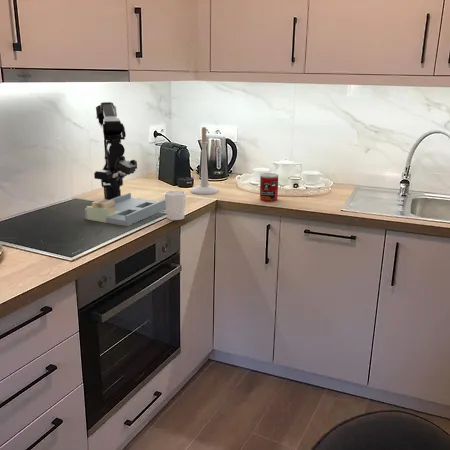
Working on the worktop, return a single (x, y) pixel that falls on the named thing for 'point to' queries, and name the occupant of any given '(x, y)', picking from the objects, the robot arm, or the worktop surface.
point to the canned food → (269, 187)
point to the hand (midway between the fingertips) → (116, 192)
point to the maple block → (105, 205)
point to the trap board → (125, 210)
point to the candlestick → (204, 172)
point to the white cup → (175, 204)
